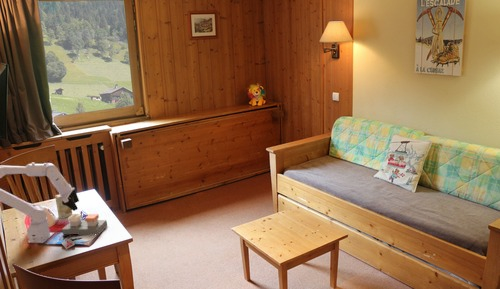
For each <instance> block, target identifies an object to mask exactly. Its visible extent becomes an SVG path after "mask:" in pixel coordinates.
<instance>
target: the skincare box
mask: <svg viewBox="0 0 500 289" xmlns="http://www.w3.org/2000/svg"><path fill="white" fill-rule="evenodd" d="M54 197H55V204H56V210H57V216H58V217H59V218H60V219H64V218H68V217H70V216H71V215H72V214H73V210H72V209H71V208H69V207H68V206H66V205H63V204H62V201H63V199H62V197H61V195H60V193H59V194H55V195H54ZM69 198H70V197H69Z"/></svg>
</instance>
